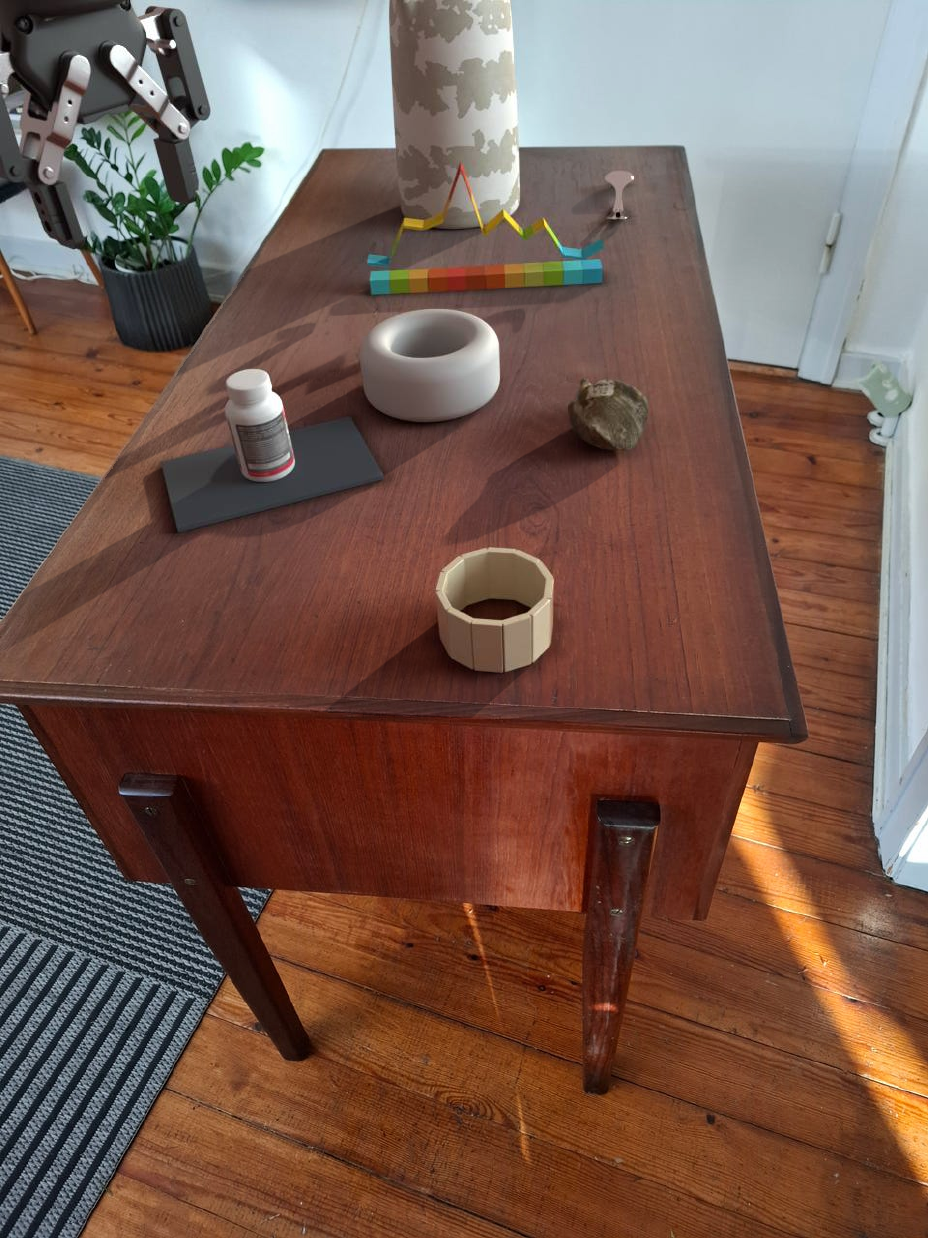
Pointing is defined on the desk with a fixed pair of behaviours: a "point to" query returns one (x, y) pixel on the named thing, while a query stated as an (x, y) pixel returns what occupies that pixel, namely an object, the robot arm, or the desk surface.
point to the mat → (222, 492)
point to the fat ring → (430, 365)
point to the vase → (454, 108)
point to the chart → (495, 274)
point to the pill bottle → (258, 427)
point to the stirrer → (619, 191)
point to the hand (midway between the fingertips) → (130, 222)
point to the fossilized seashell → (609, 414)
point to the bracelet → (498, 579)
